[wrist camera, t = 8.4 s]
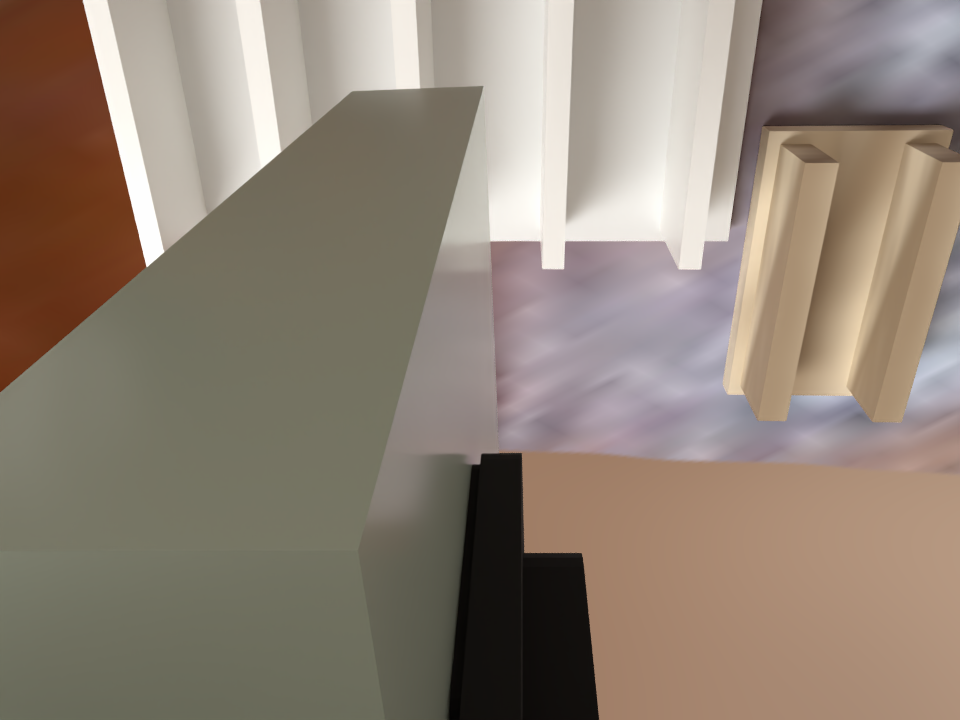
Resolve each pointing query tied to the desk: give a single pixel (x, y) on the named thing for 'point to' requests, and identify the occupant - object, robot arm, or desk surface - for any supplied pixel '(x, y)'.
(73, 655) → the plate
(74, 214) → the desk surface
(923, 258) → the plate stand
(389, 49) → the dish rack
